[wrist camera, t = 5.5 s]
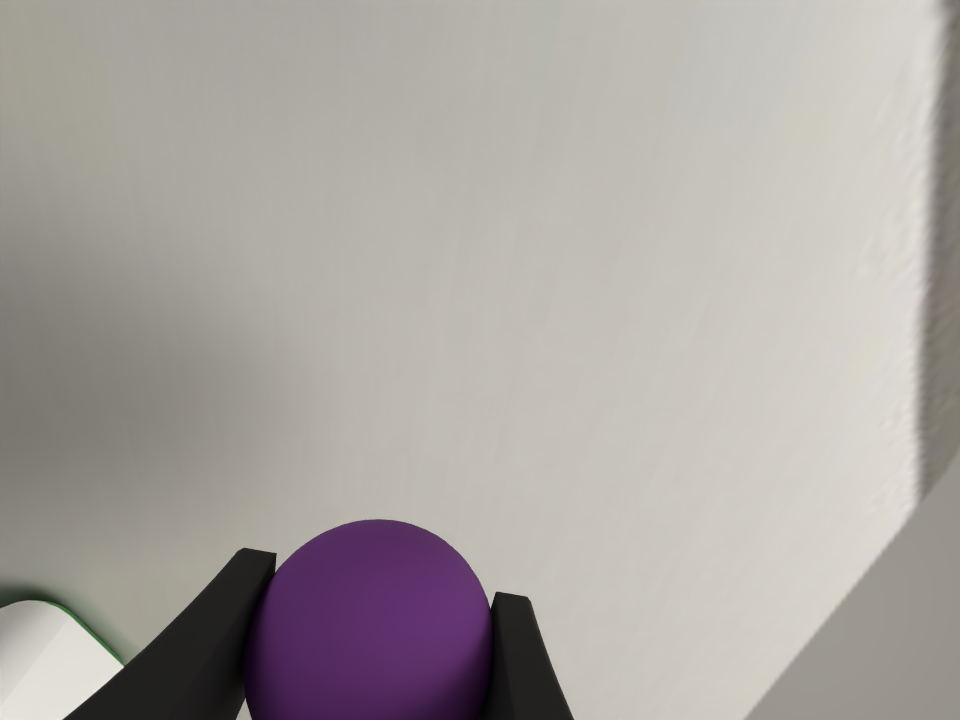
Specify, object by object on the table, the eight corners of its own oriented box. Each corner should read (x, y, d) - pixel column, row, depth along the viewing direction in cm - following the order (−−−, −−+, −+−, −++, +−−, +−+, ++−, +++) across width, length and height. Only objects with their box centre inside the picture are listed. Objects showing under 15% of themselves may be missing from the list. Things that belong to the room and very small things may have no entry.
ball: (452, 649, 14) (435, 876, 10) (267, 594, 14) (173, 815, 10) (529, 512, 12) (545, 726, 8) (318, 442, 12) (229, 638, 8)
